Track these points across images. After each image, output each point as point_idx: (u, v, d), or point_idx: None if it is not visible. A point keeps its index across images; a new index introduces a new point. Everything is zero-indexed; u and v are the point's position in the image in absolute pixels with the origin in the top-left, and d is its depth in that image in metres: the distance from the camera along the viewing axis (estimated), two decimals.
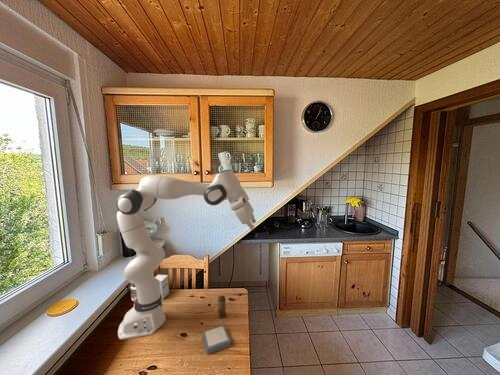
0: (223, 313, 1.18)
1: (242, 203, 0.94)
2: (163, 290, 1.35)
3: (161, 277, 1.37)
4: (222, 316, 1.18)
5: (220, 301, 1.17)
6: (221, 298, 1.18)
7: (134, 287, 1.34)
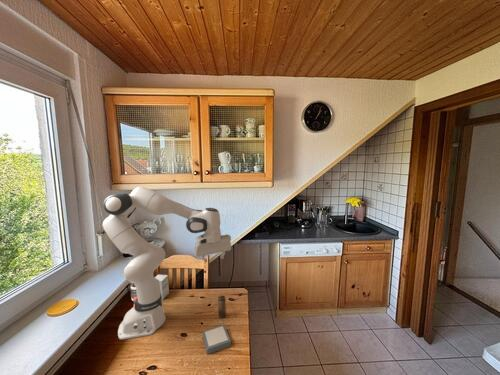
0: (223, 313, 1.18)
1: (198, 242, 1.15)
2: (163, 290, 1.35)
3: (161, 277, 1.37)
4: (222, 316, 1.18)
5: (220, 301, 1.17)
6: (221, 298, 1.18)
7: (134, 287, 1.34)
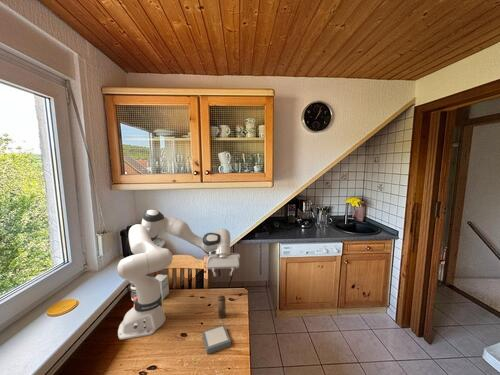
0: (223, 313, 1.18)
1: (209, 253, 1.36)
2: (163, 290, 1.35)
3: (161, 277, 1.37)
4: (222, 316, 1.18)
5: (220, 301, 1.17)
6: (221, 298, 1.18)
7: (134, 287, 1.34)
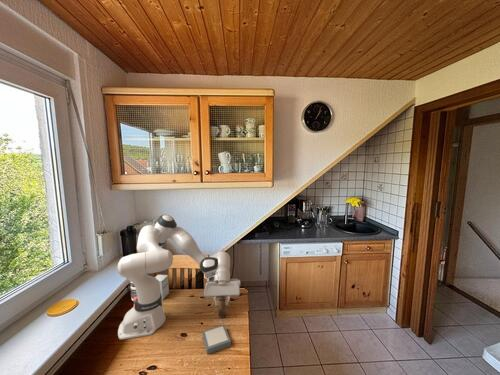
0: (223, 313, 1.18)
1: (207, 280, 1.24)
2: (163, 290, 1.35)
3: (161, 277, 1.37)
4: (222, 316, 1.18)
5: (220, 301, 1.17)
6: (221, 298, 1.18)
7: (134, 287, 1.34)
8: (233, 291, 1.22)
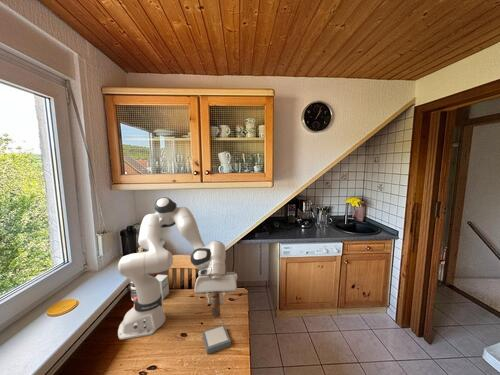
0: (217, 312, 1.01)
1: None
2: (163, 290, 1.35)
3: (161, 277, 1.37)
4: (216, 315, 1.01)
5: (213, 298, 1.00)
6: (215, 294, 1.01)
7: (134, 287, 1.34)
8: (229, 286, 1.04)
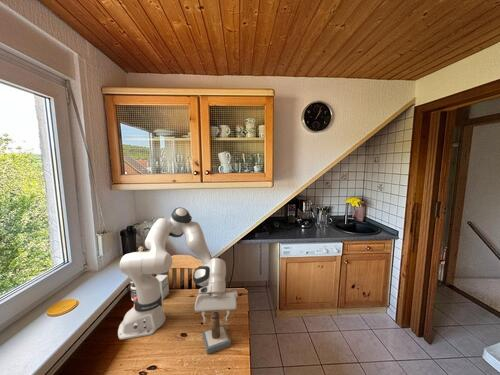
0: (217, 333, 1.02)
1: None
2: (163, 290, 1.35)
3: (161, 277, 1.37)
4: (216, 336, 1.01)
5: (213, 319, 1.00)
6: (214, 315, 1.01)
7: (134, 287, 1.34)
8: (229, 305, 1.05)
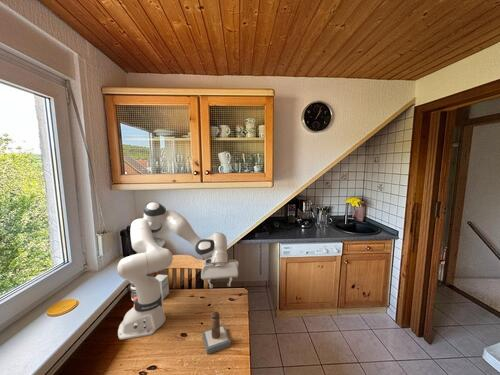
0: (217, 333, 1.02)
1: None
2: (163, 290, 1.35)
3: (161, 277, 1.37)
4: (216, 336, 1.02)
5: (213, 319, 1.00)
6: (214, 315, 1.01)
7: (134, 287, 1.34)
8: (231, 272, 1.18)
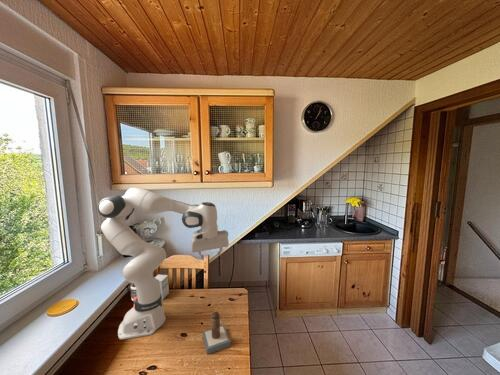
0: (217, 333, 1.01)
1: (194, 238, 1.12)
2: (163, 290, 1.35)
3: (161, 277, 1.37)
4: (216, 336, 1.01)
5: (213, 319, 1.00)
6: (214, 315, 1.01)
7: (134, 287, 1.34)
8: (222, 244, 1.19)
